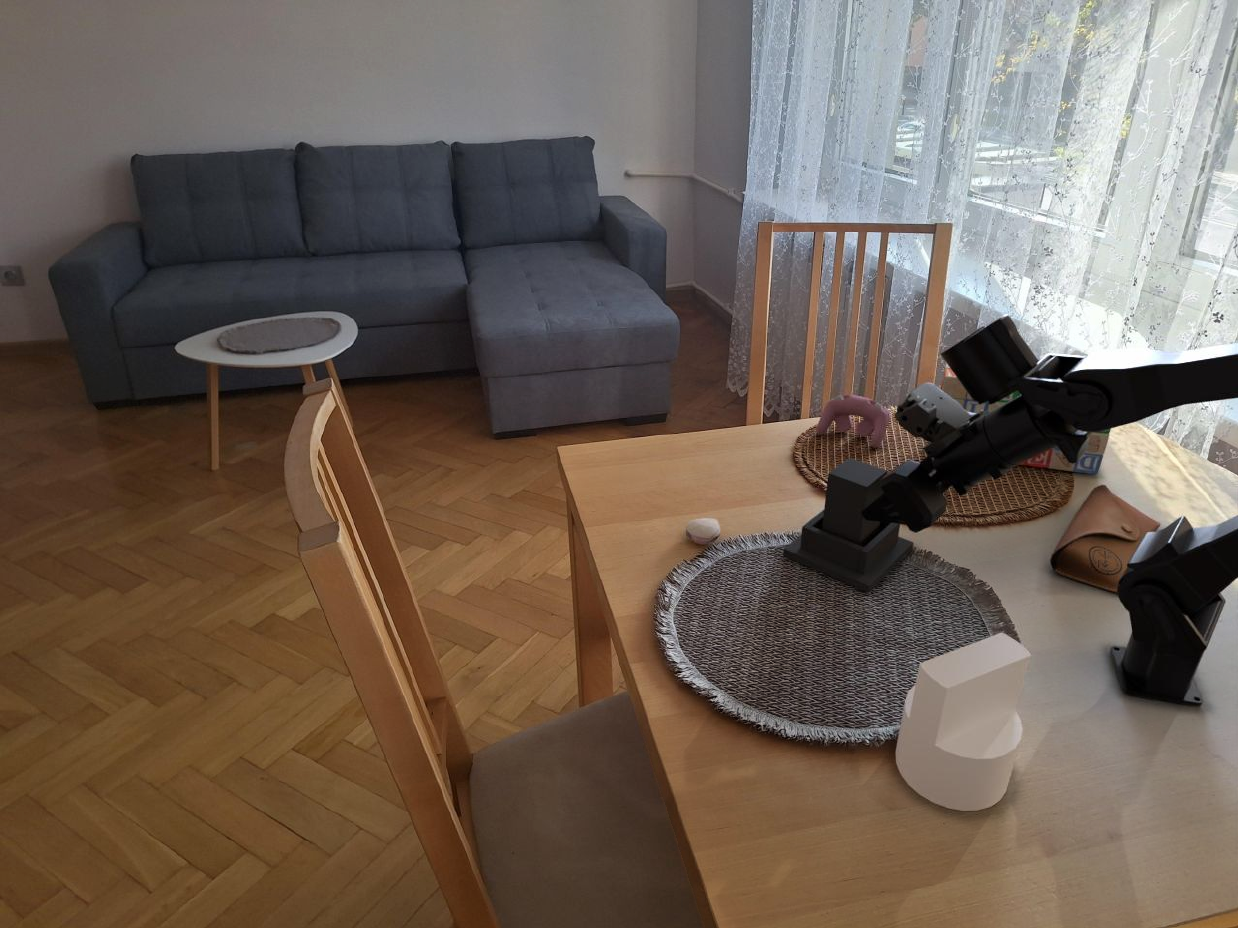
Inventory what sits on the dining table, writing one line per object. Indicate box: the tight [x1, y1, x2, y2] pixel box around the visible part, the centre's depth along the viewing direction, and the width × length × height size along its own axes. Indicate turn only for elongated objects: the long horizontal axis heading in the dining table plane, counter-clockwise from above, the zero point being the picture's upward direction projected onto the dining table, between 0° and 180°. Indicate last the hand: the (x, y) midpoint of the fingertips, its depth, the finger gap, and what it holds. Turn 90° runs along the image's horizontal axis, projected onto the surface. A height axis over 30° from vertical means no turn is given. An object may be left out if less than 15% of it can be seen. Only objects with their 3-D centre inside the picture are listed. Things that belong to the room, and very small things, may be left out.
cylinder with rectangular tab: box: [895, 632, 1032, 812], centre depth 68 cm, size 9×9×12 cm
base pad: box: [782, 509, 914, 593], centre depth 97 cm, size 11×11×4 cm
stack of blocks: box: [940, 362, 1112, 475], centre depth 115 cm, size 21×6×12 cm, turn 70°
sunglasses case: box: [1049, 484, 1161, 594], centre depth 97 cm, size 18×7×7 cm, turn 141°
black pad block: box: [822, 457, 889, 548], centre depth 95 cm, size 5×5×10 cm
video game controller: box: [816, 394, 891, 449], centre depth 123 cm, size 10×5×7 cm, turn 58°
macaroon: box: [684, 517, 721, 546], centre depth 101 cm, size 4×5×2 cm
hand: (884, 498), depth 92 cm, fingers open, 9 cm apart
